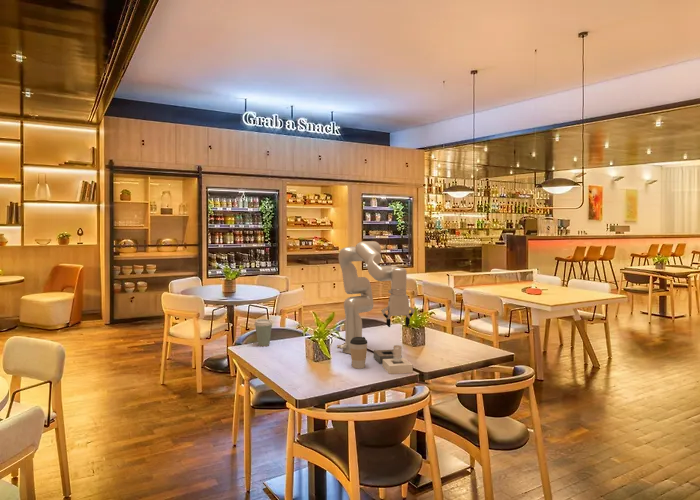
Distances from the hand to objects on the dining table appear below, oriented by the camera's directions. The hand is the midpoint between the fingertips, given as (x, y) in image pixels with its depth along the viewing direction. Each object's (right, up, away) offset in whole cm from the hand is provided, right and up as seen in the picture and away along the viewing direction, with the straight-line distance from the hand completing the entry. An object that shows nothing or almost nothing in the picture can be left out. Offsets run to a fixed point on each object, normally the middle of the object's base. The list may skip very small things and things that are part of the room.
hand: (397, 326), depth 245 cm
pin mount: (-4, -21, +18) cm, 28 cm away
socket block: (0, -22, +1) cm, 22 cm away
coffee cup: (-20, -22, +6) cm, 30 cm away
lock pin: (0, -22, +1) cm, 22 cm away
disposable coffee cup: (-76, -19, +46) cm, 90 cm away
